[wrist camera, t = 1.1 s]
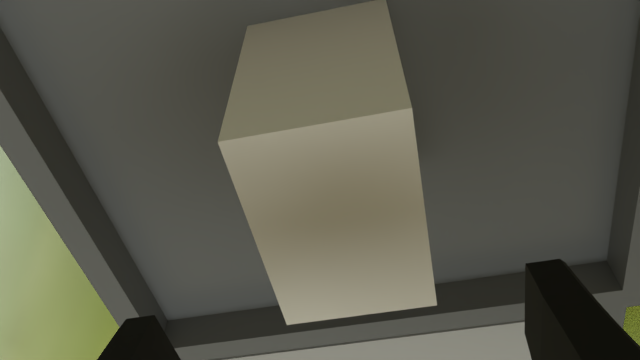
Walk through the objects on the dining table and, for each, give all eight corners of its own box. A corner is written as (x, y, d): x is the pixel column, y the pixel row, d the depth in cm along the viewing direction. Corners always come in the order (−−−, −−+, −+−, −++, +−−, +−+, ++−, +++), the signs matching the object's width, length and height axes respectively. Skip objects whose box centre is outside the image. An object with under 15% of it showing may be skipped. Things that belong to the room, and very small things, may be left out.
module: (409, 167, 20) (437, 305, 15) (290, 187, 20) (281, 325, 15) (385, -2, 16) (411, 107, 11) (242, 27, 17) (210, 143, 12)
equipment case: (591, 474, 34) (604, 510, 32) (261, 504, 36) (259, 539, 35) (739, -436, 11) (807, -464, 10) (-153, -191, 14) (-215, -182, 12)
